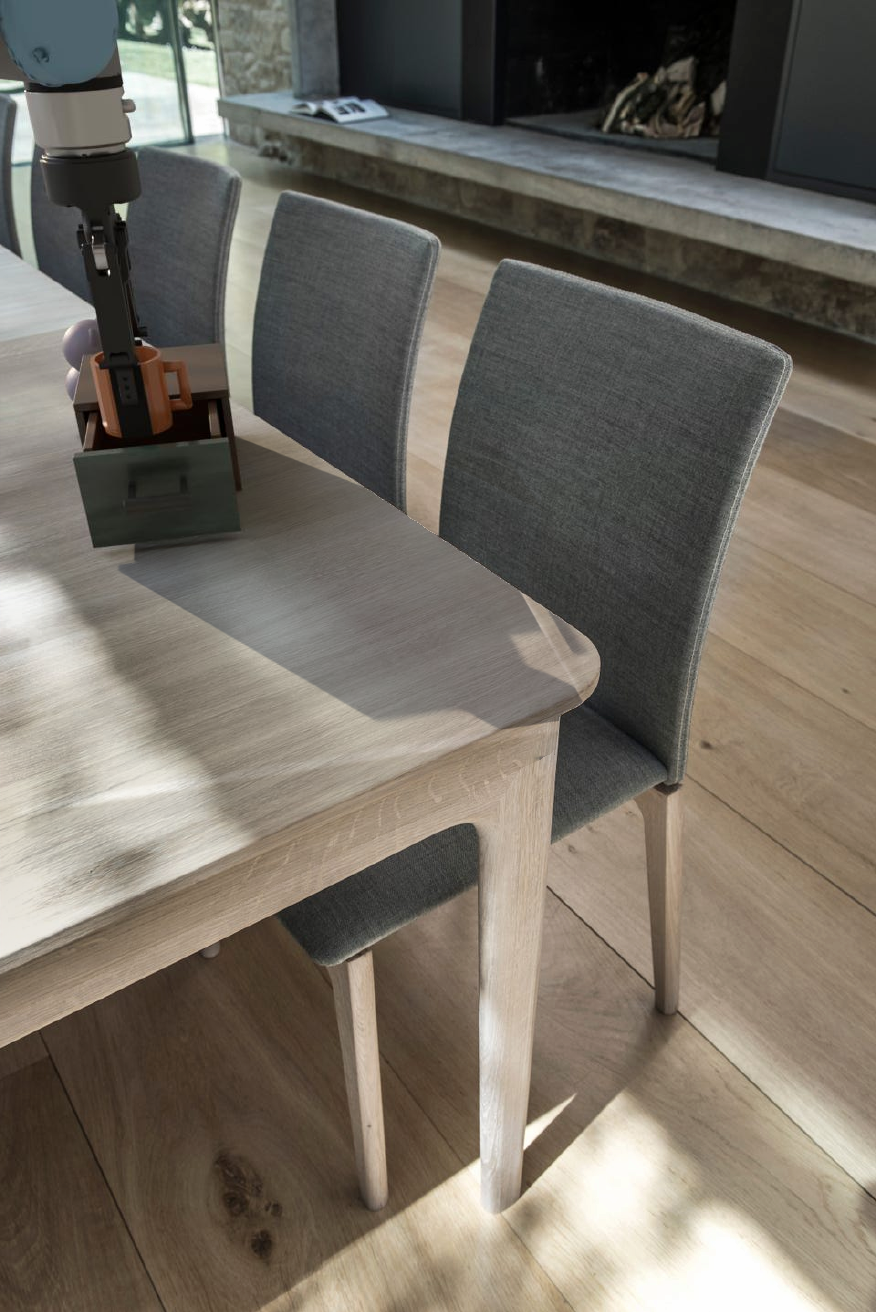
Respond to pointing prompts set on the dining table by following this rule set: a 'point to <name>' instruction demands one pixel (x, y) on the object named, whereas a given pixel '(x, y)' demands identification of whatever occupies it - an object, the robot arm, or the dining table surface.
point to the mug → (154, 389)
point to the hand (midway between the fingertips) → (138, 422)
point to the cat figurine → (79, 349)
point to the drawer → (158, 480)
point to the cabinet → (174, 389)
